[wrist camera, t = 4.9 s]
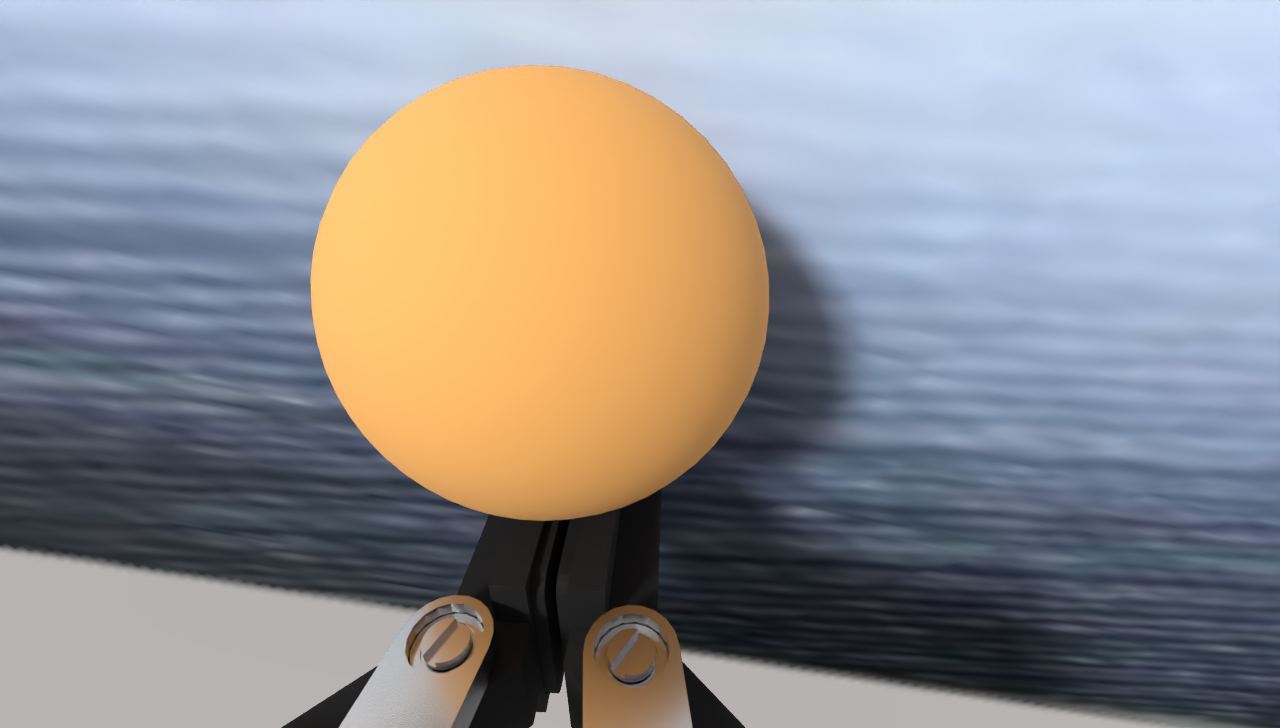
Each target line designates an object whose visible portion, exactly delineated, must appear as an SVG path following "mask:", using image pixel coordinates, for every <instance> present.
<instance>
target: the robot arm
mask: <svg viewBox="0 0 1280 728" xmlns="http://www.w3.org/2000/svg"><path fill="white" fill-rule="evenodd" d="M660 517H661V489H660V490H658V491H656V492H655V493H653V494H651V495H649V496H648V497H646V498H644V499H641V500H639V501H637V502H634V503H632V504H630V505H627V506H625V507H622V508H619V509H616V510H612V511H609V512H605V513H602V514H598V515H592V516H586V517H581V518H575V519H568V520H550V521H536V520H519V519H513V518H507V517H501V516H495V515H491V514H490V515H489V517H488V519H487V522H486V524H485V527H484V529H483V532H482V534H481V537H480V539H479V542H478V544H477V547H476V549H475V552H474V554H473V557H472V559H471V562H470V564H469V567H468V569H467V571H466V574H465V576H464V579H463V581H462V584H461V586H460V589H459V591H458V594H457V595H453V596H448V597H444V598H439V599H437V600H435V601H433V602H431V603H429V604H427V605H425V606H424V607H423V608H421V609H420V610H419V611H417V612H416V613H415V614H414V615H412V617H411V618H410V619H409V620H408V622H407V623H406V624H405V625H404V626H403V628H402V629H401V631H400V632H399V634H398V635H397V637H396V639H395V640H394V642H393V643H392V645H391V646H390V648H389V650H388V651H387V653H386V654H385V656H384V657H383V659H382V661H381V662H380V664H379V665H378V666H377V667H375V668H374V669H372V670H371V671H369V672H367V673H366V674H364V675H363V676H361V677H359V678H358V679H356V680H355V681H353V682H352V683H350V684H349V685H347V686H345V687H344V688H342V689H341V690H339V691H338V692H336V693H335V694H333V695H332V696H330V697H328V698H327V699H325V700H324V701H322V702H321V703H319V704H317V705H316V706H314V707H313V708H311V709H310V710H308V711H307V712H305V713H303V714H302V715H300V716H299V717H297V718H296V719H294V720H293V721H291V722H290V723H288V724H286V725H285V726H283V727H282V728H529V727H530V726H532V725H533V722H534V718H535V713H536V712H546V709H547V704H548V699H549V694H550V693H559V692H560V690H561V686H562V681H563V675H564V672H565V680H566V688H567V696H568V704H569V713H570V721H571V727H572V728H745V727H744V726H743V725H742V724H741V723H740V721H739V720H738V719H736V717H735V716H734V715H733V714H732V713H731V712H730V711H729V710H728V709H727V708H726V707H725V706H724V705H723V704H722V703H721V702H720V701H719V700H718V699H717V697H716V696H715V695H714V694H713V693H712V692H711V691H710V690H709V689H708V688H707V687H706V686H705V685H704V684H703V683H702V682H701V681H700V680H699V679H698V678H697V677H696V676H695V674H694V673H693V672H692V671H691V670H690V669H689V668H688V667H687V666H686V665H685V664H684V663H683V662H682V658H681V652H680V646H679V642H678V639H677V636H676V633H675V630H674V629H673V627H672V626H671V625H670V623H669V622H668V621H667V619H666V618H664V617H663V616H662V615H660V614H659V613H658V612H657V602H658V574H659V545H660Z"/></svg>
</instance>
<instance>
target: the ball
mask: <svg viewBox="0 0 1280 728" xmlns="http://www.w3.org/2000/svg"><path fill="white" fill-rule="evenodd" d="M311 301H312V314H313V321H314V327H315V332H316V338H317V344H318V347H319V350H320V354H321V357H322V360H323V363H324V367H325V370H326V372H327V374H328V376H329V379H330V381H331V383H332V385H333V388H334V390H335V392H336V394H337V396H338V398H339V399H340V401H341V403H342V404H343V406H344V408H345V409H346V411H347V413H348V414H349V416H350V418H351V419H352V420H353V421H354V423H355V424H356V425H357V427H358V428H359V429H360V431H361V432H362V433H363V435H364V436H365V437H366V438H367V439H368V440H369V442H370V443H371V444H372V445H373V446H374V447H375V448H376V449H377V450H378V451H379V452H380V453H381V454H382V455H383V456H384V457H385V458H386V459H387V460H388V461H390V462H391V463H392V464H393V465H394V466H396V467H397V468H398V469H399V470H400V471H401V472H403V473H404V474H405V475H407V476H408V477H410V478H411V479H413V480H414V481H416V482H417V483H419V484H420V485H422V486H423V487H425V488H427V489H428V490H430V491H432V492H434V493H436V494H438V495H440V496H442V497H444V498H445V499H447V500H450V501H452V502H455V503H457V504H460V505H462V506H465V507H467V508H470V509H473V510H477V511H480V512H484V513H487V514H491V515H495V516H501V517H507V518H513V519H519V520H536V521H550V520H568V519H575V518H581V517H586V516H592V515H598V514H602V513H605V512H609V511H612V510H616V509H619V508H622V507H625V506H627V505H630V504H632V503H634V502H637V501H639V500H641V499H644V498H646V497H648V496H649V495H651V494H653V493H655V492H656V491H658V490H660V489H661V488H663V487H665V486H666V485H668V484H670V483H671V482H672V481H674V480H675V479H677V478H678V477H679V476H681V475H682V474H683V473H684V472H686V471H687V470H688V469H690V468H691V467H692V466H694V465H695V464H696V463H697V462H698V461H699V460H700V459H701V458H702V457H703V456H704V455H705V454H706V453H707V452H708V451H709V450H710V449H711V448H712V447H713V446H714V445H715V444H716V442H717V441H718V440H719V439H720V437H721V436H722V435H723V433H724V432H725V431H726V429H727V428H728V427H729V425H730V424H731V422H732V421H733V419H734V417H735V416H736V414H737V412H738V410H739V409H740V407H741V405H742V404H743V402H744V400H745V398H746V397H747V395H748V393H749V390H750V388H751V386H752V383H753V381H754V378H755V376H756V373H757V371H758V368H759V365H760V361H761V357H762V353H763V349H764V345H765V342H766V333H767V325H768V317H769V275H768V269H767V262H766V255H765V249H764V245H763V242H762V238H761V235H760V231H759V228H758V225H757V221H756V218H755V216H754V214H753V211H752V209H751V207H750V205H749V202H748V200H747V198H746V196H745V193H744V191H743V189H742V188H741V186H740V185H739V183H738V181H737V180H736V178H735V176H734V175H733V173H732V172H731V170H730V168H729V167H728V165H727V164H726V162H725V161H724V160H723V159H722V157H721V156H720V155H719V154H718V153H717V151H716V150H715V149H714V148H713V147H712V145H711V144H710V143H709V142H708V141H707V139H706V138H705V137H704V136H703V135H701V134H700V133H699V132H698V131H697V130H696V129H695V128H694V127H693V126H692V125H691V124H689V123H688V122H687V121H686V120H685V119H684V118H683V117H682V116H680V115H679V114H678V113H676V112H675V111H673V110H672V109H670V108H669V107H667V106H666V105H665V104H663V103H662V102H660V101H659V100H657V99H656V98H654V97H652V96H650V95H648V94H646V93H644V92H642V91H640V90H638V89H636V88H634V87H632V86H630V85H629V84H627V83H624V82H621V81H618V80H615V79H612V78H609V77H606V76H603V75H600V74H597V73H594V72H589V71H584V70H578V69H573V68H567V67H562V66H533V65H528V66H517V67H508V68H500V69H491V70H486V71H483V72H479V73H475V74H472V75H468V76H464V77H461V78H457V79H455V80H453V81H451V82H448V83H446V84H444V85H442V86H439V87H437V88H435V89H433V90H431V91H428V92H427V93H425V94H424V95H422V96H421V97H419V98H418V99H416V100H414V101H413V102H411V103H410V104H408V105H407V106H405V107H404V108H402V109H401V110H399V111H398V112H397V113H395V114H394V115H393V116H392V117H391V118H390V119H388V120H387V121H386V122H385V123H384V124H383V125H382V126H381V127H380V128H378V129H377V130H376V131H375V132H374V133H373V134H372V135H371V136H370V137H369V138H368V139H367V140H366V142H365V143H364V144H363V145H362V147H361V148H360V149H359V150H358V152H357V153H356V154H355V155H354V156H353V158H352V159H351V160H350V162H349V164H348V165H347V167H346V169H345V171H344V172H343V174H342V176H341V177H340V179H339V181H338V182H337V184H336V186H335V188H334V190H333V193H332V195H331V197H330V200H329V202H328V205H327V207H326V210H325V212H324V215H323V217H322V220H321V222H320V226H319V230H318V234H317V238H316V242H315V247H314V251H313V260H312V271H311Z"/></svg>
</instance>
